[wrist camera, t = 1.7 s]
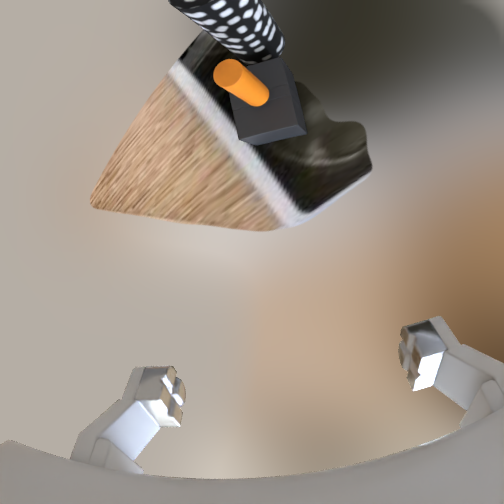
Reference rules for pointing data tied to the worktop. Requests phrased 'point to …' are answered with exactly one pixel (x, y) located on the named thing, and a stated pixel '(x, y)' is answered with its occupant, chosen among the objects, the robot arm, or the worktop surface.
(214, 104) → the worktop surface
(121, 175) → the worktop surface
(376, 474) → the robot arm
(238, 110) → the holder
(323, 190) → the worktop surface
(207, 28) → the spotted tube
